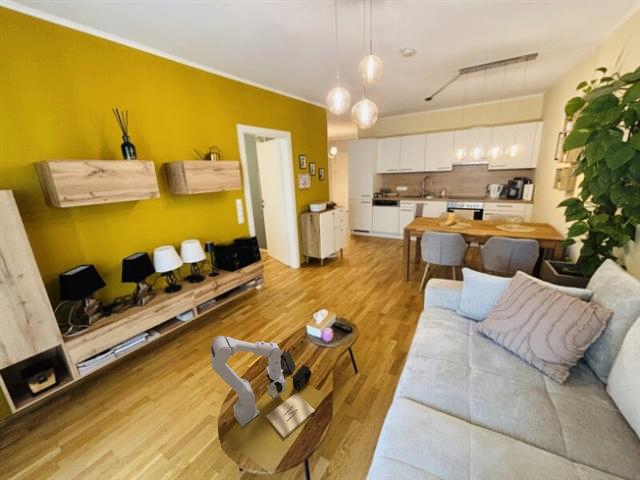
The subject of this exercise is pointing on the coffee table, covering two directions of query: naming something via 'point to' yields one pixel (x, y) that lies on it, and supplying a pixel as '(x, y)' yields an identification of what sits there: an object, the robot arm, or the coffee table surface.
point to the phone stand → (287, 362)
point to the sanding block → (274, 390)
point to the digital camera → (301, 378)
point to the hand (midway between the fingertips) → (277, 389)
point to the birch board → (290, 415)
